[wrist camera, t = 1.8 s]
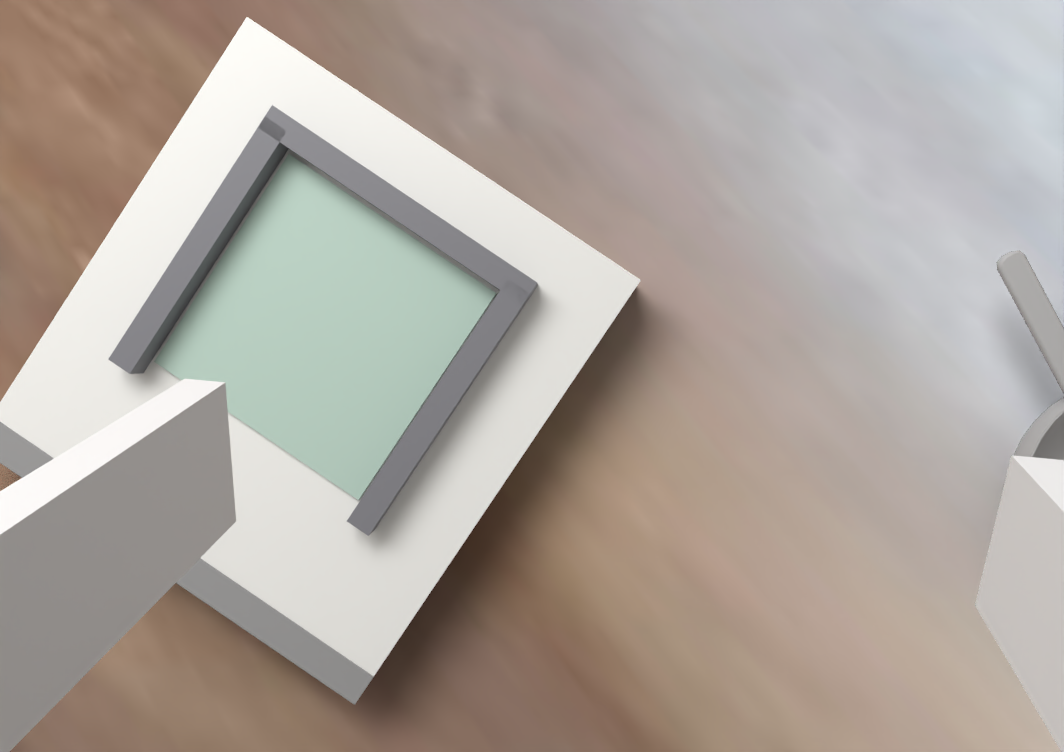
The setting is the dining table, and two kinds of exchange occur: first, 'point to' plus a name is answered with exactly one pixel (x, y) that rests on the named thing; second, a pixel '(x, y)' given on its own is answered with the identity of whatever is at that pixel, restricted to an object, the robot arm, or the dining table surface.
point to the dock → (323, 346)
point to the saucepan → (1060, 425)
